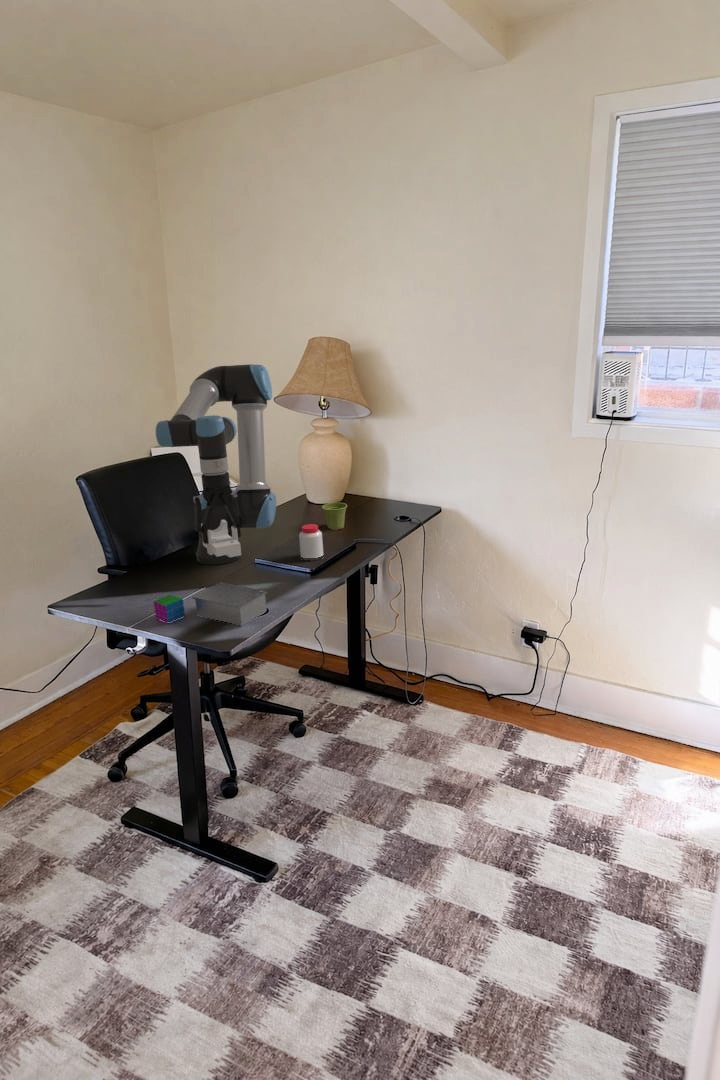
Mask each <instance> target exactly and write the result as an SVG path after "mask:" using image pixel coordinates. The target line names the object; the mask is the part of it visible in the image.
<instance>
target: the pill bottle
mask: <svg viewBox="0 0 720 1080" xmlns="http://www.w3.org/2000/svg"><path fill="white" fill-rule="evenodd" d="M298 539H299V552H300V558H301V557H303V558H318V557H321V556H323V555H324V544H323V543H324V542H323V532H322V531H321V530H320V529H319V525H317V524H316V523H308V524H304V525H302V526H301V532H299V534H298Z"/></svg>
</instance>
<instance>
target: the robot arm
mask: <svg viewBox="0 0 720 1080" xmlns="http://www.w3.org/2000/svg"><path fill="white" fill-rule="evenodd" d="M268 372H269V371H268V370H267V368H266V367H265V366H264V365H263V364H251V363H250V364H236V365H233V364H232V365H219V366H215V367H212V368H210V369H208V370H206V371H203V372H202V373H201V374H199V375H198V376H197V378H195V379H194V380H193V381H192V383H191V384H190V386H189V393H188V395H187V396H186V397H185V398H184V400H183V402H182V403H181V404H180V405H179V407H178V409H177V411H176V412H175V413H174V415H173V416H171V417H172V418H171V419H170V420H167V419H166V420H160V421H158V422H157V423H156V426H155V438H156V441H157V443H158V445H159V446H160V447H163V448H182V447H197V448H198V455H199V465H200V466H199V467H200V472H201V473H202V474H201V476H200V477H201V483H202V492H201V494H199V495H193V496H192V500H193V504H194V524H193V525H194V530H195V531H196V532H198V538H199V539H198V544H197V548H196V553H195V555H196V561H197V562H198V563H199V564H203V565H209V566H215V565H216V566H217V565H224V564H229V563H232V562H235V561H237V560H239V559H240V558H241V556H242V554H241V555H240V556H235V557H230V558H229V557H228V556H227V555H223V556H218V557H217V556H215V555H214V554H213V551H212V542H211V533H210V532H209V531H208V530H215V529H217V528H218V527H219V526H220V524H221V520H225V521H227V528H228V535H229V536H231V537H232V538H234V539H235V540H236V541H238V542H239V538H241V536H242V535H241V534H242V533H241V530H242V529H243V530H244V529H256V530H258V529H266V528H269V527H271V526H272V525H273V522H274V521H275V518H276V516H275V515H276V509H277V500H276V499H277V498H276V497H277V496H276V494H275V493H273V492H271V487H270V486H269V485H268V484H267V483H266V461H265V459H266V457H265V456H266V455H265V436H264V435H265V434H264V410H265V409H266V408H267V407H268V401H271V400H272V398H273V389H272V383H271V378H270V375H269V373H268ZM220 402H231V408H233V409H234V410H235V411H236V423H237V424H235V422H234V421H233V420H232V419H231V418H229V417H227V416H221V415H206V414H207V412H208V411H209V409H210V408H211V407H212V406H214V405H216V404H217V403H220ZM236 435H237V446H238V447H237V448H238V450H237V451H238V472H239V475H238V476H239V484H238V485H237V486H236V488H235V489H232V488H231V485H230V484H231V482H230V474H229V472H228V470H229V463H228V453H227V445H228V444H230V443H232V442H233V440H234V439H235V437H236ZM201 523H202V527H201ZM202 539H203V541H202ZM203 542H204V543H205V544H207V548H206V547H204V546H203Z"/></svg>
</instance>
